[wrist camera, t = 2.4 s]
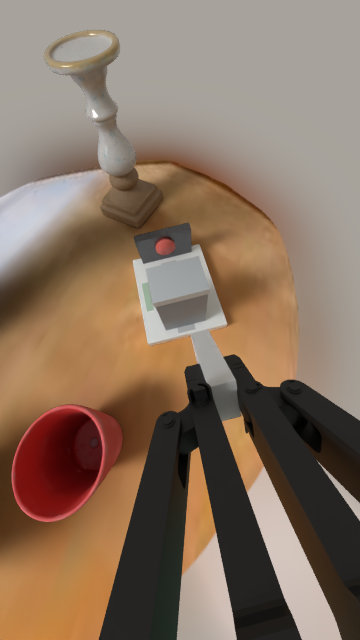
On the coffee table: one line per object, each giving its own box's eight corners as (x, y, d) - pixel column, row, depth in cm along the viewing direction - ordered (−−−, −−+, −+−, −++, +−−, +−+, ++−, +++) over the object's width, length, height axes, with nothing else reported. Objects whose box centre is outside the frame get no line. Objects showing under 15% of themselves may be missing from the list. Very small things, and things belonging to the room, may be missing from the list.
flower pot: (50, 445, 31) (-10, 465, 22) (101, 388, 34) (67, 385, 25) (93, 503, 28) (45, 553, 19) (147, 436, 31) (126, 452, 22)
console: (226, 326, 36) (233, 309, 29) (149, 346, 36) (138, 333, 29) (199, 249, 43) (199, 219, 36) (134, 264, 42) (122, 238, 35)
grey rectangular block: (205, 321, 35) (209, 289, 25) (165, 331, 35) (152, 303, 25) (197, 295, 37) (198, 255, 27) (159, 304, 37) (145, 268, 26)
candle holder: (139, 229, 46) (85, 71, 24) (102, 214, 49) (22, 59, 26) (164, 197, 49) (137, 31, 27) (127, 185, 52) (76, 24, 29)
